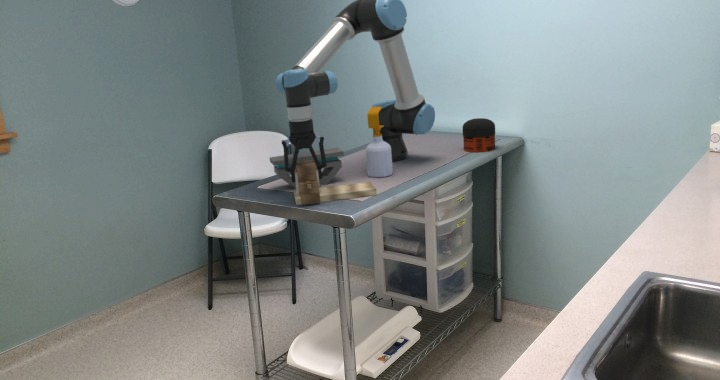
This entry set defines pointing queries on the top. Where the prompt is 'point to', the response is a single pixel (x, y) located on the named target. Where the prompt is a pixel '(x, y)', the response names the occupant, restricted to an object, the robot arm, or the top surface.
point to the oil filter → (479, 135)
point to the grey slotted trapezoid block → (327, 172)
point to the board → (342, 192)
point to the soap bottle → (378, 148)
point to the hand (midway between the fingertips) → (308, 189)
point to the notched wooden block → (307, 182)
